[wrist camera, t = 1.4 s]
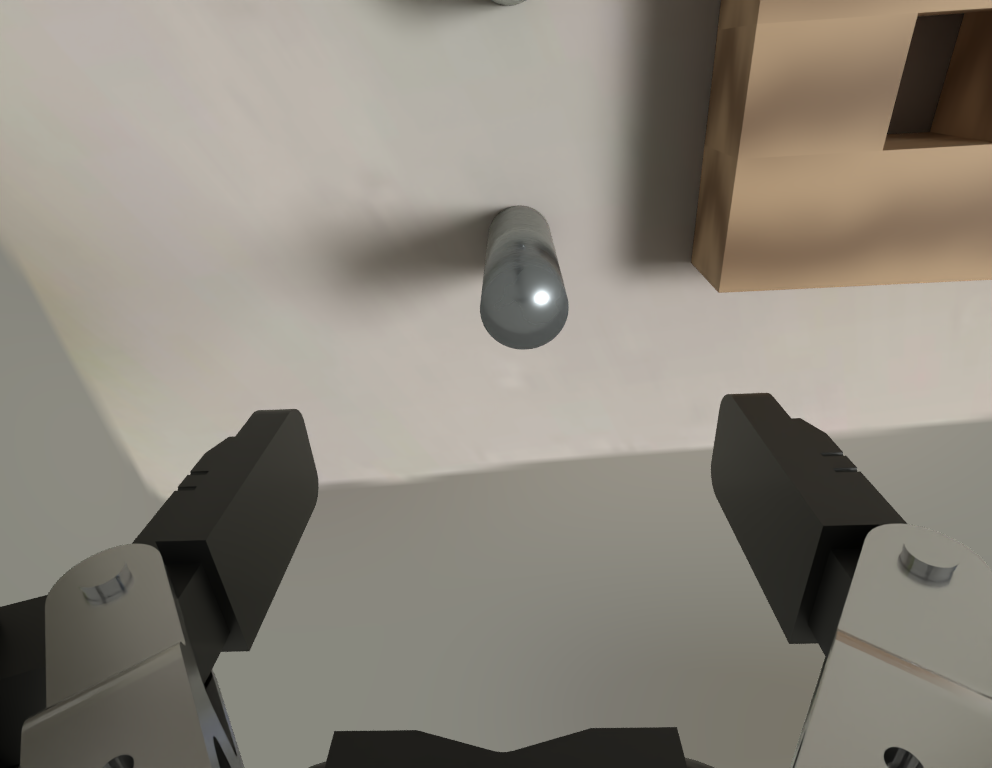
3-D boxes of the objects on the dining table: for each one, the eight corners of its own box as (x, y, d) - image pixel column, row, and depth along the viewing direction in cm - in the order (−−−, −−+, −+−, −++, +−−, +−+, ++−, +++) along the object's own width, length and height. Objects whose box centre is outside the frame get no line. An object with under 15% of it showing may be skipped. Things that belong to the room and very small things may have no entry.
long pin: (486, 207, 32) (476, 269, 22) (550, 203, 32) (568, 264, 22) (490, 269, 34) (483, 351, 24) (550, 266, 34) (568, 347, 24)
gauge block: (737, -145, 24) (787, -190, 20) (1176, -181, 24) (1327, -236, 19) (691, 262, 33) (718, 292, 29) (1009, 246, 32) (1087, 274, 28)
